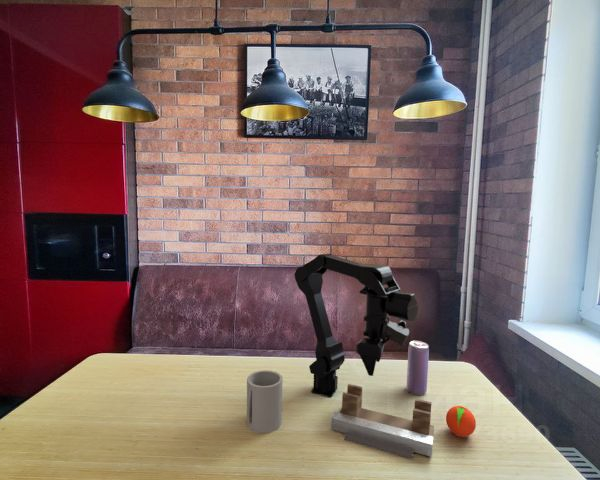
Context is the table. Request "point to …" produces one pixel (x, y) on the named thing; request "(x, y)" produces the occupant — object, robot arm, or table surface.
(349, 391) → the rack
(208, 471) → the table surface
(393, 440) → the rail
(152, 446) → the table surface
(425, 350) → the beverage can
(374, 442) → the mat
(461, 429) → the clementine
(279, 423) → the cup
